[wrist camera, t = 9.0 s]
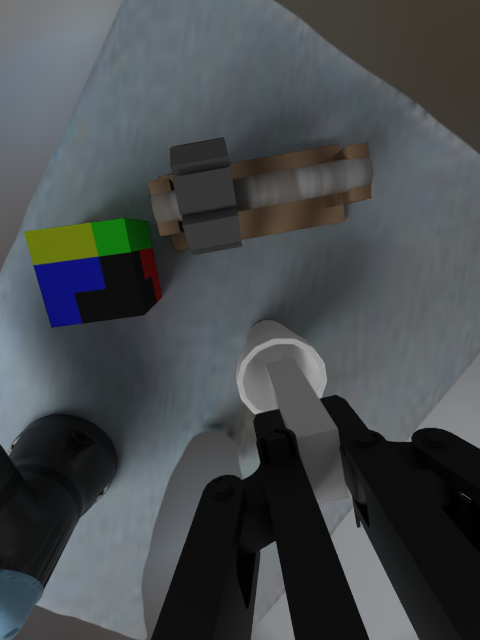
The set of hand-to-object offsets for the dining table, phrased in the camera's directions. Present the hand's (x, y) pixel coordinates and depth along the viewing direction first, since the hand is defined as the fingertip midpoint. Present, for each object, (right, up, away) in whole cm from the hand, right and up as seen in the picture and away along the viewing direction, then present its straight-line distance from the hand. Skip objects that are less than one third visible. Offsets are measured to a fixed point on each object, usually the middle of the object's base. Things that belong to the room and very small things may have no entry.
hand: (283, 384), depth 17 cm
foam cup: (+2, 0, +30) cm, 30 cm away
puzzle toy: (-18, +11, +27) cm, 34 cm away
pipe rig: (-1, +19, +25) cm, 31 cm away
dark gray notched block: (-5, +15, +16) cm, 23 cm away
